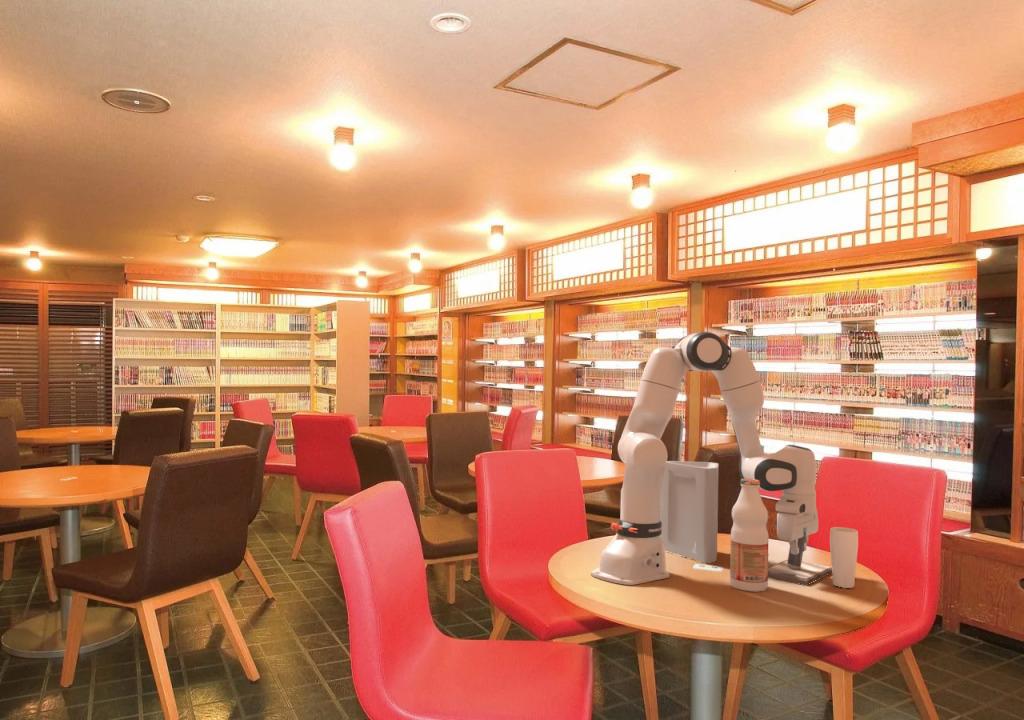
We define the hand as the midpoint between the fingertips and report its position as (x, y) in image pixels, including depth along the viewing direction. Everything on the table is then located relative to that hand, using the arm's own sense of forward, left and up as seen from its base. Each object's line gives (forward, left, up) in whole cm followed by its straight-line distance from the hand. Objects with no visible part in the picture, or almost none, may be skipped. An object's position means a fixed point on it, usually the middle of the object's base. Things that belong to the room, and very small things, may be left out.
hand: (798, 552), depth 196 cm
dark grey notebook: (+1, +1, -6) cm, 6 cm away
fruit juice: (-22, +4, -7) cm, 23 cm away
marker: (0, +1, -4) cm, 5 cm away
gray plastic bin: (0, +31, -7) cm, 32 cm away
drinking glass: (-2, -13, -7) cm, 14 cm away
